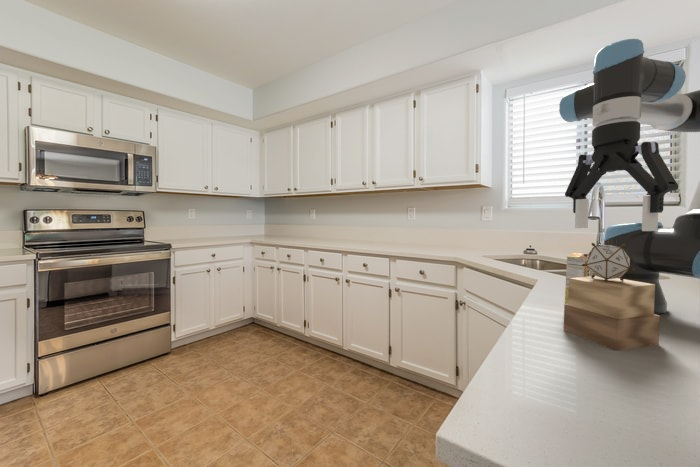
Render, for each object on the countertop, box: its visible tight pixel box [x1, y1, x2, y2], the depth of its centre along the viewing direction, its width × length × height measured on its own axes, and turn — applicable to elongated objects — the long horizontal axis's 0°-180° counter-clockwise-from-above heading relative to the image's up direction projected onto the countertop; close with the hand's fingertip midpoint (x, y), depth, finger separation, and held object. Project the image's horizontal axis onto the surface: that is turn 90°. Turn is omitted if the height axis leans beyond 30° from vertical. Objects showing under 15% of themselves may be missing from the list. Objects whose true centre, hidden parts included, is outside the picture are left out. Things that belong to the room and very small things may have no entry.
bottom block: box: [563, 303, 661, 351], centre depth 66 cm, size 11×11×6 cm
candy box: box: [564, 252, 590, 304], centre depth 81 cm, size 9×4×15 cm, turn 138°
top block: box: [568, 275, 655, 320], centre depth 66 cm, size 10×10×6 cm
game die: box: [581, 242, 635, 283], centre depth 66 cm, size 9×8×10 cm
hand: (612, 229), depth 65 cm, fingers open, 13 cm apart
